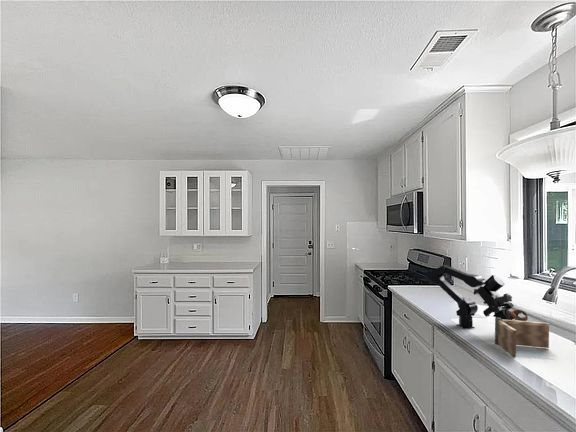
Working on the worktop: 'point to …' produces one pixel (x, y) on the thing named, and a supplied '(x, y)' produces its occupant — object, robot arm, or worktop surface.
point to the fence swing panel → (530, 333)
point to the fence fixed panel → (505, 336)
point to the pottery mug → (515, 314)
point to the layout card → (526, 352)
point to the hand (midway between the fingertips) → (511, 324)
